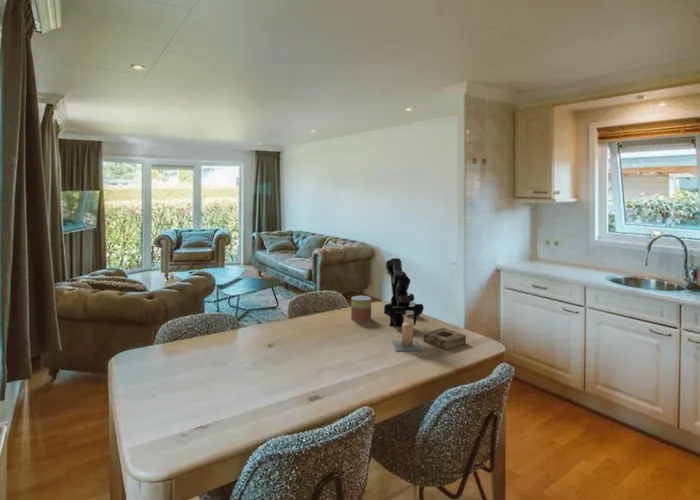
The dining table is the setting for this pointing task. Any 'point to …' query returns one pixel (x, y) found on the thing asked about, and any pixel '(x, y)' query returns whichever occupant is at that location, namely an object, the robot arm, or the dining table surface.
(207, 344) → the dining table surface
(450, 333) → the pocket block
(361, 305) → the canned food
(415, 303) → the medicine bottle
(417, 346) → the pad
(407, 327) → the peg
